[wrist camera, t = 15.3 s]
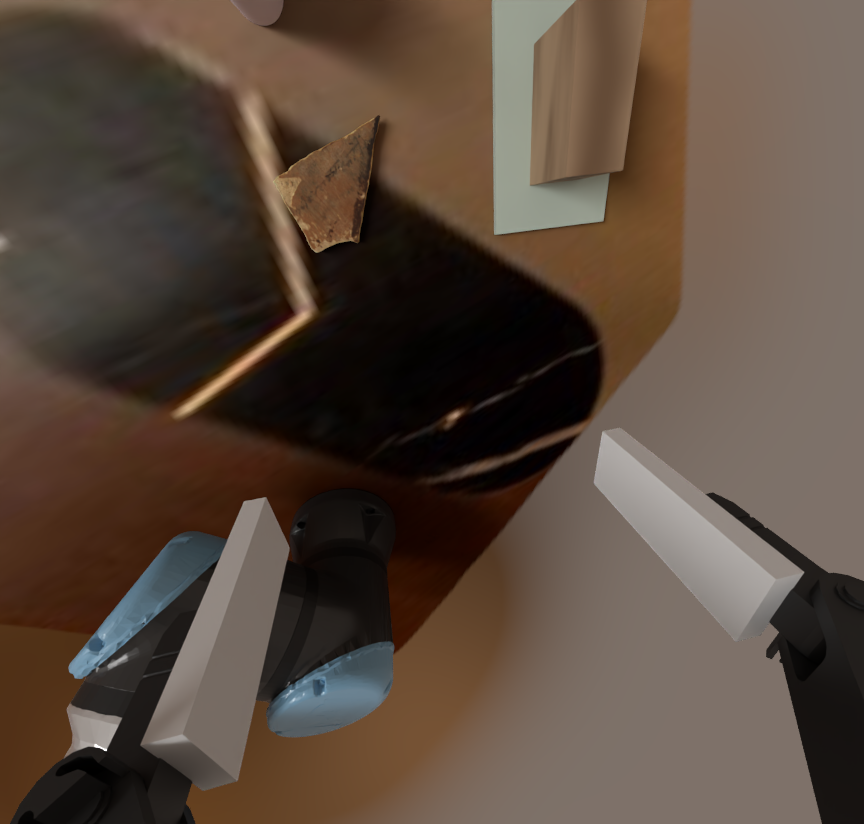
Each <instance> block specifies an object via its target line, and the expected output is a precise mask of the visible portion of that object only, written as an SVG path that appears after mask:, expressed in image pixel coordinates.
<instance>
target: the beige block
mask: <svg viewBox="0 0 864 824" xmlns="http://www.w3.org/2000/svg"><path fill="white" fill-rule="evenodd" d="M646 4H647V0H576V1H575V2H574V3H573V4H572V5H571V6H570V7H569V8H568V9H567V10H566V11H565V12H564V13H563V14H562V15H561V16H560V17H559V19H558V20H557V21H556V22H555V23H554V24H553V25H552V26H551V27H550V28H549V29H548V30H547V31H546V32H545V33H544V34H543V35H542V36H541V37H540V38H539V40H538V41H537V42H536V43H535V44H534V62H533V94H532V127H531V160H530V185H538V184H546V183H555V182H563V181H572V180H579V179H584V178H589V177H594V176H598V175H603V174H608V173H613V172H618V171H623V166H624V159H625V152H626V145H627V138H628V131H629V124H630V117H631V110H632V103H633V96H634V89H635V82H636V75H637V68H638V61H639V54H640V46H641V39H642V32H643V25H644V18H645V11H646Z"/></svg>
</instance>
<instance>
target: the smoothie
mask: <svg viewBox="0 0 864 824" xmlns="http://www.w3.org/2000/svg"><path fill="white" fill-rule="evenodd" d="M230 1H231V2H232V3H233V4H234V5H235V6H236V7H237V8H238V10H239V11H240V12H241V13H242V14H243V15H244V16H245V17H246V18H247V19H248V20H250V21H251V22H253V23H255V24H257V25H261V26H267V25H271V24H273V23H274V22H275V21H276V20H277V19H278V18H279V16H280V14H281V12H282V8H283V0H230Z"/></svg>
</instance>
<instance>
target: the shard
mask: <svg viewBox="0 0 864 824" xmlns="http://www.w3.org/2000/svg"><path fill="white" fill-rule="evenodd" d="M379 121H380V116H379V115H378V116H377V117H375V118H373V119H371V120H370V121H369V122H367V123H365V124H363V125H361V126H360V127H358V128H357V129H356V130H355V131H354V132H352V133H350V134H348V135H346V136H345V137H343V138H341V139H339V140H336V141H333V142H331V143H329V144H327V145H326V146H324V147H323V148H321V149H319V150H317V151H314V152H313V153H311V154H309V155H308V156H307V157H306V158H304V159H301V160H300V161H299V162H297V163H296V164H294V165H292V166H291V167H290V168H289V170H288V171H287V172H285V173H283V174H281V175H279V176H277V177H276V179H275V180H274V184H275V185H276V187H277V189H278V191H279V192H280V194H281V196H282V198H283V200H284V202H285V204H286V205H287V207H288V208H289V210H290V212H291V213H292V215H293V216H294V218H295V219H296V221H297V222H298V224H299V226H300V228H301V229H302V231H303V232H304V234H305V236H306V238H307V241H308V243H309V245H310V247H311V248H312V250H314V251H315V252H316V253H318V252H320V251H322V250H324V249H326V248H328V247H330V246H333V245H335V244H337V243H342V242H347V241H353V242H356V243H358V242H359V239H360V236H359V235H360V228H361V224H362V219H363V213H364V206H365V200H366V194H367V191H368V186H369V179H370V175H371V169H372V161H373V151H374V142H375V137H376V134H377V132H378V127H379Z"/></svg>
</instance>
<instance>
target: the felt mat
mask: <svg viewBox="0 0 864 824" xmlns="http://www.w3.org/2000/svg"><path fill="white" fill-rule="evenodd" d="M575 1H576V0H492V61H493V166H494V235H498V234H506V233H514V232H522V231H530V230H538V229H546V228H553V227H561V226H569V225H577V224H585V223H593V222H601V221H604V213H605V205H606V198H607V190H608V182H609V175H610V173H608V174H603V175H598V176H594V177H589V178H584V179H579V180H572V181H563V182H555V183H546V184H538V185H530V160H531V127H532V94H533V62H534V44H535V43H536V42H537V41H538V40H539V38H540V37H541V36H542V35H543V34H544V33H545V32H546V31H547V30H548V29H549V28H550V27H551V26H552V25H553V24H554V23H555V22H556V21H557V20H558V19H559V17H560V16H561V15H562V14H563V13H564V12H565V11H566V10H567V9H568V8H569V7H570V6H571V5H572V4H573V3H574V2H575Z"/></svg>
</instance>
